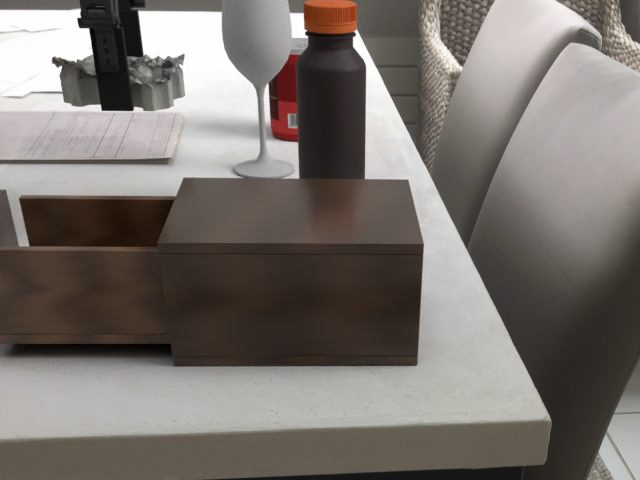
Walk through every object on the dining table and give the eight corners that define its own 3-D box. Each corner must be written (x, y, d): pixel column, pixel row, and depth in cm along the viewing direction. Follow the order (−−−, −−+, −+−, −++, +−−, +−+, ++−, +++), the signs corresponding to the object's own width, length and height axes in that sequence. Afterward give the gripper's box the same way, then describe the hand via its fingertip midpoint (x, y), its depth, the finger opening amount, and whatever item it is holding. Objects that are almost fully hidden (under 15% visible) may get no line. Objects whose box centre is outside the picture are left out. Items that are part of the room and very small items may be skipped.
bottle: (374, 214, 96) (378, 1, 83) (348, 234, 91) (349, 11, 78) (317, 205, 98) (312, -5, 85) (288, 224, 92) (280, 4, 80)
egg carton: (53, 106, 81) (43, 57, 78) (90, 88, 87) (82, 41, 84) (165, 114, 79) (159, 63, 77) (195, 95, 85) (190, 47, 83)
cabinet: (173, 366, 68) (157, 242, 62) (195, 287, 79) (183, 177, 73) (417, 365, 69) (424, 243, 63) (403, 288, 80) (408, 179, 75)
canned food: (341, 135, 120) (341, 44, 113) (296, 145, 116) (292, 51, 109) (304, 123, 124) (302, 35, 118) (259, 133, 120) (254, 41, 113)
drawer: (-129, 352, 66) (-166, 250, 62) (-67, 280, 77) (-94, 188, 72) (199, 351, 68) (188, 251, 63) (216, 280, 78) (208, 190, 74)
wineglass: (230, 161, 109) (215, -39, 97) (293, 159, 111) (286, -39, 98) (234, 180, 103) (218, -30, 91) (299, 178, 105) (293, -30, 92)
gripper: (109, -222, 61) (152, 128, 75) (149, -212, 78) (178, 73, 91) (-5, -227, 60) (60, 127, 74) (60, -215, 77) (103, 72, 91)
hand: (125, 97), depth 83 cm, fingers closed on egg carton, 8 cm apart
